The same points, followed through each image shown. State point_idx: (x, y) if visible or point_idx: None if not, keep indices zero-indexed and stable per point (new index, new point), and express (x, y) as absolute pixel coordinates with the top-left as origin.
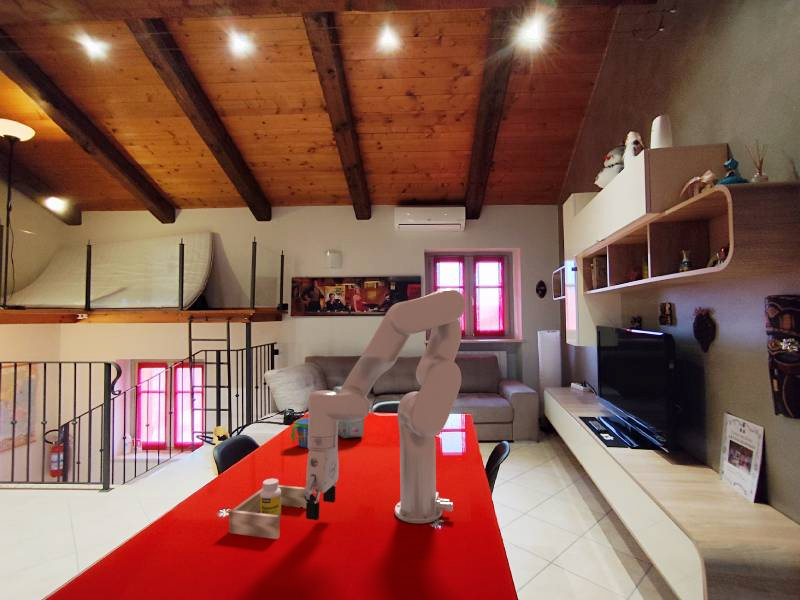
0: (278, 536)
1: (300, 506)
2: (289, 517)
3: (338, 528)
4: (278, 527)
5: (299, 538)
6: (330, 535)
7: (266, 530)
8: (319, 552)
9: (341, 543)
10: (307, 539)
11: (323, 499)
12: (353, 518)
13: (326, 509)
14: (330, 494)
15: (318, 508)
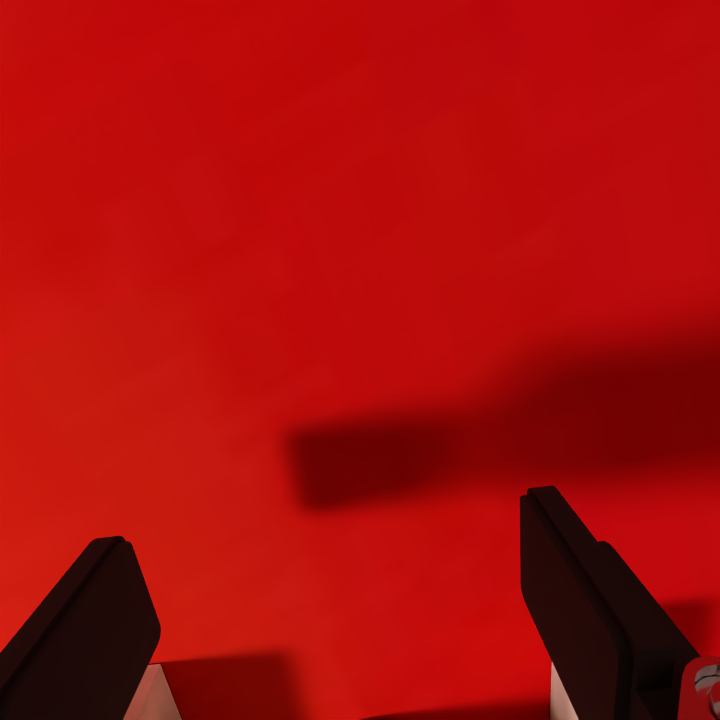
0: None
1: (174, 712)
2: (319, 689)
3: (326, 325)
4: None
5: None
6: (448, 330)
7: None
8: (697, 282)
9: (543, 173)
10: (542, 455)
11: (155, 648)
12: (113, 285)
13: None
14: (91, 647)
15: (618, 575)
